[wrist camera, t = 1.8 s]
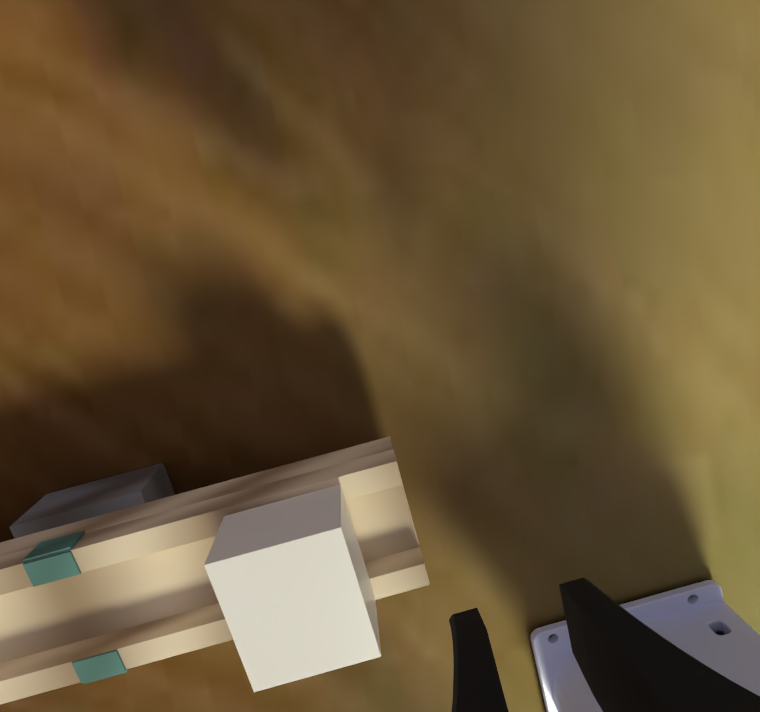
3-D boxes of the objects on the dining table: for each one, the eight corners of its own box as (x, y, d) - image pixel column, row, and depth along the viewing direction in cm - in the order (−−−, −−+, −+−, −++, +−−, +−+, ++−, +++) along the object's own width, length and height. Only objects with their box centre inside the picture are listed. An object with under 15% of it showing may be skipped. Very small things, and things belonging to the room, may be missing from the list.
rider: (340, 469, 18) (341, 527, 14) (372, 578, 19) (381, 656, 16) (230, 499, 18) (204, 564, 14) (269, 606, 19) (254, 692, 15)
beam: (381, 403, 22) (399, 474, 15) (414, 524, 23) (444, 638, 16) (-178, 555, 21) (-408, 696, 15) (-109, 669, 23) (-290, 844, 16)
